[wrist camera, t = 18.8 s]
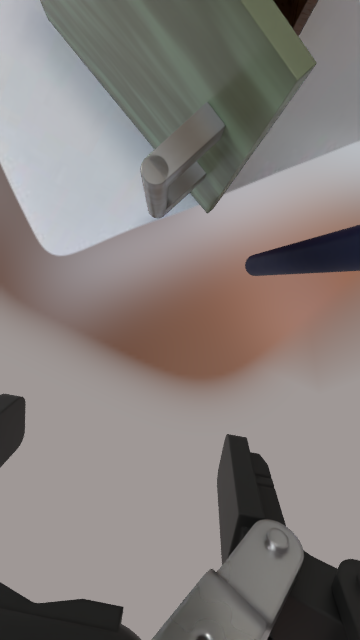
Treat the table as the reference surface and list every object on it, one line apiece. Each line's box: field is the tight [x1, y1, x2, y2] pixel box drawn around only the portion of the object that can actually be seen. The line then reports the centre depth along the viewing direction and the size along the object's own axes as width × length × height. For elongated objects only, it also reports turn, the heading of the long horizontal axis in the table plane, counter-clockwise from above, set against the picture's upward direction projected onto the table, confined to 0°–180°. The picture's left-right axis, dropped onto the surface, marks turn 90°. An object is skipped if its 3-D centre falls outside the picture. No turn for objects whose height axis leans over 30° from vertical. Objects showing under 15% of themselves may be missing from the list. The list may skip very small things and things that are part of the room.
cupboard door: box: [40, 0, 316, 218], centre depth 22 cm, size 7×26×24 cm, turn 41°
